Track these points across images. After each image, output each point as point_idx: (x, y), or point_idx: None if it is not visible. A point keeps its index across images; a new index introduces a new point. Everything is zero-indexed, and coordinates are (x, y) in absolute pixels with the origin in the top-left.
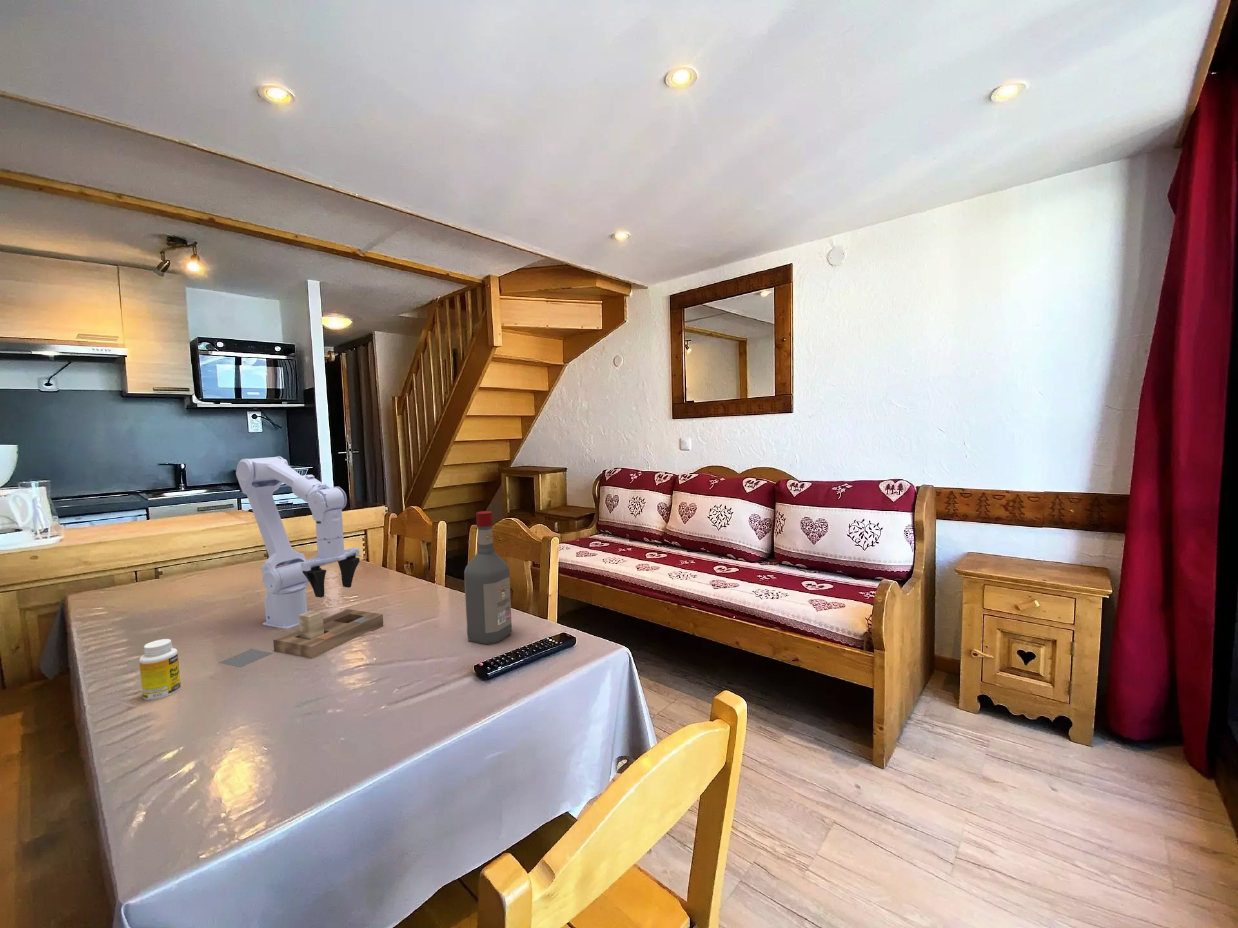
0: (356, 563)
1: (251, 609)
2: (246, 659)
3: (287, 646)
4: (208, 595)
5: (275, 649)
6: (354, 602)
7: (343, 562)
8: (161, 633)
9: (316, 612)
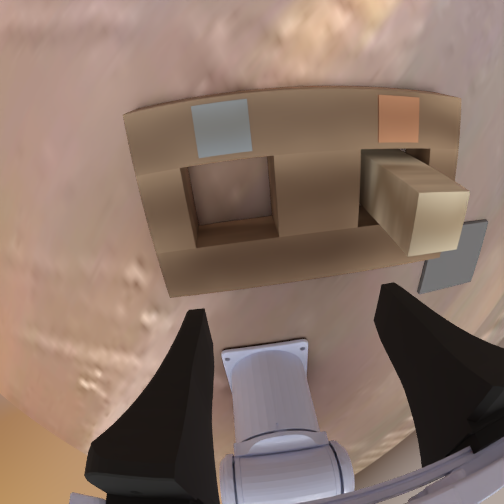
0: (127, 438)
1: None
2: (462, 248)
3: None
4: None
5: None
6: (99, 361)
7: (208, 486)
8: (365, 435)
9: (430, 210)
